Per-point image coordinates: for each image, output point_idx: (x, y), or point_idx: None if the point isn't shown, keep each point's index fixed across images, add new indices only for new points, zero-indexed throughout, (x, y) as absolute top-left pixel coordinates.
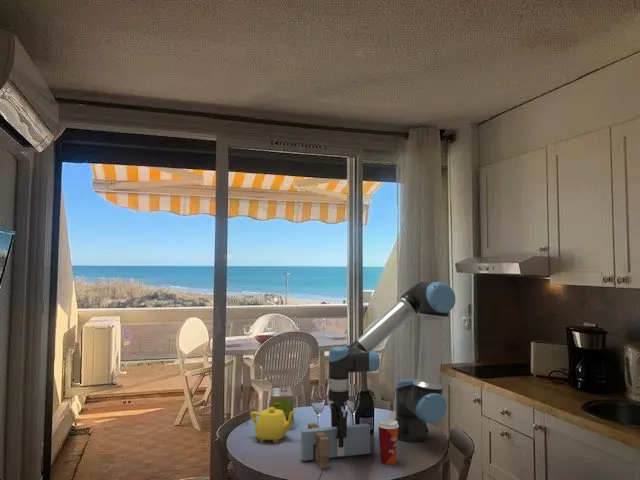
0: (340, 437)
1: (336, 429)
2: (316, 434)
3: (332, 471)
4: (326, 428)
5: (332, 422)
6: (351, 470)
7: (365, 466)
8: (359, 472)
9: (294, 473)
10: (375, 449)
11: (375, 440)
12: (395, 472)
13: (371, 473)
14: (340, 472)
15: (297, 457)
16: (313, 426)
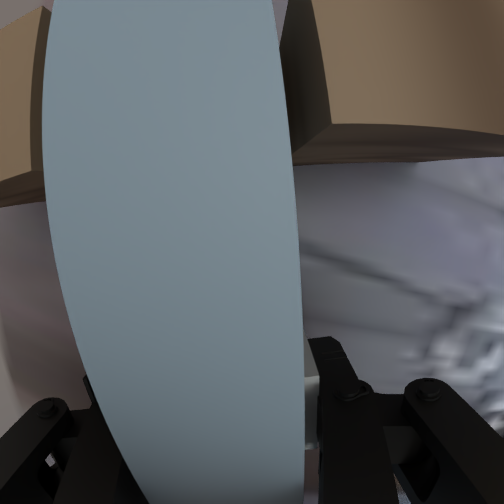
0: (35, 406)
1: (134, 467)
2: (1, 33)
3: (17, 214)
4: (186, 293)
5: (457, 471)
6: (30, 325)
7: (82, 408)
8: (18, 353)
9: (48, 3)
10: (304, 496)
11: (405, 495)
12: (50, 465)
13: (20, 394)
14: (8, 258)
15: (280, 2)
16: (479, 31)
